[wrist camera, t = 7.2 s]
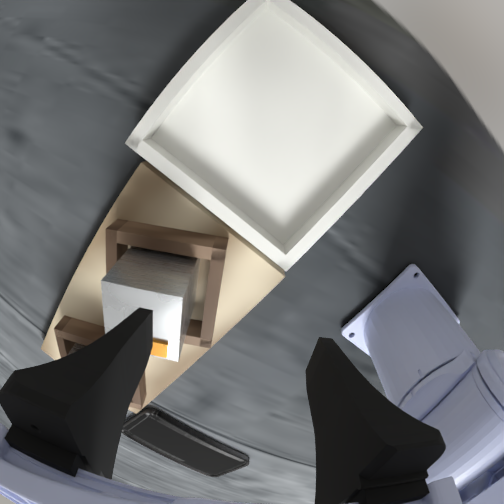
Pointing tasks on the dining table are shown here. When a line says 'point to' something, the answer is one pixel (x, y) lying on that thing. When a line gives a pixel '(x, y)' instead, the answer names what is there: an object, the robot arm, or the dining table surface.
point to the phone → (182, 444)
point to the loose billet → (153, 295)
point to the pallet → (182, 214)
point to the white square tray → (274, 127)
